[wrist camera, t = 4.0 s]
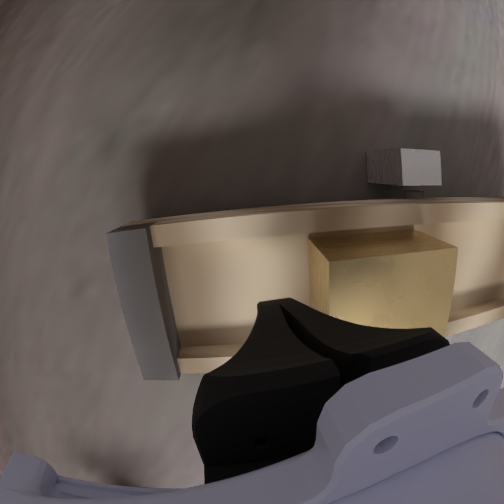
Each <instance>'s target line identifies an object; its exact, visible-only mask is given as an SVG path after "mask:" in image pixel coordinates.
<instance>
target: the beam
mask: <svg viewBox="0 0 504 504" xmlns="http://www.w3.org/2000/svg"><path fill="white" fill-rule="evenodd" d="M410 229H415V230H418V231H420V232H423V233H425V234H428V235H430V236H433V237H435V238H437V239H440V240H442V241H445V242H447V243H449V244H452V245H454V246H456V247H458V256H457V266H456V275H455V283H454V290H453V296H452V302H451V308H450V314H449V319H448V324H447V329H446V334H445V337H446V336H450V335H453V334H457V333H460V332H463V331H466V330H470V329H473V328H476V327H479V326H482V325H485V324H488V323H491V322H494V321H497V320H499V319H502V318H504V197H438V198H423V191H413V190H407V191H404V198H400V199H375V200H355V201H337V202H321V203H306V204H293V205H280V206H268V207H257V208H246V209H235V210H225V211H215V212H206V213H197V214H188V215H179V216H171V217H163V218H155V219H147V220H140V221H132V222H130V223H128V224H125V225H123V226H121V227H119V228H117V229H115V230H112V231H110V232H108V233H106V236H107V241H108V247H109V252H110V257H111V262H112V267H113V272H114V276H115V281H116V285H117V289H118V293H119V297H120V301H121V305H122V309H123V313H124V317H125V320H126V324H127V328H128V331H129V334H130V338H131V341H132V345H133V348H134V351H135V354H136V357H137V360H138V363H139V366H140V369H141V372H142V375H143V378H144V380H179V378H180V374H181V373H209V372H211V371H212V370H214V369H216V368H218V367H219V366H221V365H223V364H224V363H225V362H227V361H228V360H229V359H231V358H232V357H233V356H234V355H235V354H236V353H237V352H238V351H239V349H240V348H241V347H242V346H243V344H244V343H245V341H246V340H247V338H248V336H249V335H250V333H251V330H252V328H253V326H254V323H255V320H256V317H257V304H258V303H259V302H261V301H268V300H275V299H282V298H289V297H290V298H293V299H295V300H297V301H299V302H301V303H303V304H305V305H307V306H309V307H310V283H309V255H308V238H314V237H325V236H337V235H349V234H361V233H373V232H385V231H398V230H410Z"/></svg>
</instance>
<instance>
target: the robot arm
mask: <svg viewBox="0 0 504 504" xmlns="http://www.w3.org/2000/svg"><path fill="white" fill-rule="evenodd" d="M502 379H503V372H502V370H501V368H500V366H499V365H498V364H497V363H496V362H494V361H493V360H492V359H491V358H489V357H488V356H487V355H485V354H484V353H483V352H481V351H480V350H479V349H478V348H476V347H475V346H474V345H472V344H471V343H470V342H459V343H454V344H451V345H450V344H449V342H448V340H447V339H445V338H444V337H443V336H442V335H440V334H439V333H438V332H437V331H435V330H434V329H433V328H432V327H426V328H411V329H394V328H379V327H372V326H365V325H360V324H355V323H351V322H348V321H344V320H341V319H338V318H335V317H332V316H329V315H327V314H324V313H322V312H320V311H318V310H315V309H313V308H311V307H309V306H307V305H305V304H303V303H301V302H299V301H297V300H295V299H293V298H290V297H289V298H282V299H275V300H268V301H261V302H259V303H258V304H257V317H256V320H255V323H254V326H253V328H252V330H251V333H250V335H249V336H248V338H247V340H246V341H245V343H244V344H243V346H242V347H241V348H240V349H239V351H238V352H237V353H236V354H235V355H234V356H233V357H232V358H231V359H229V360H228V361H227V362H225V363H224V364H223V365H221V366H219V367H218V368H216V369H214V370H212V371H211V372H209V373H207V374H205V375H204V376H203V378H202V380H201V383H200V385H199V388H198V391H197V395H196V398H195V403H194V407H193V415H192V431H193V437H194V440H195V443H196V445H197V448H198V451H199V453H200V456H201V459H202V461H203V464H204V475H205V484H204V485H199V486H195V487H190V488H185V489H167V488H143V487H129V486H119V485H110V484H103V483H96V482H90V481H84V480H78V479H73V478H68V477H64V476H59V475H58V474H57V473H56V471H55V470H54V469H53V467H52V466H51V465H50V464H49V463H48V462H46V461H45V460H43V459H42V458H39V457H36V456H32V455H28V454H25V453H21V452H18V451H14V452H13V454H12V456H11V458H10V460H9V461H8V463H7V465H6V467H5V469H4V471H3V473H2V476H1V478H0V504H504V388H502V389H500V387H501V383H502Z"/></svg>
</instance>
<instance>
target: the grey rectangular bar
mask: <svg viewBox="0 0 504 504" xmlns="http://www.w3.org/2000/svg"><path fill="white" fill-rule="evenodd" d="M366 158H367V173H368V183H379V184H390V185H400V186H420V185H442V177H441V158H440V151H434V150H421V149H405V148H398V149H388V150H378V151H369V152H366Z"/></svg>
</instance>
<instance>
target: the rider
mask: <svg viewBox="0 0 504 504" xmlns="http://www.w3.org/2000/svg"><path fill="white" fill-rule="evenodd" d="M308 255H309V283H310V307H311V308H313V309H315V310H318V311H320V312H322V313H324V314H327V315H329V316H332V317H335V318H338V319H341V320H344V321H348V322H351V323H355V324H360V325H365V326H372V327H379V328H394V329H411V328H426V327H432V328H433V329H434V330H435V331H437V332H438V333H439V334H440V335H442V336H443V337H444V338H445V334H446V329H447V324H448V319H449V314H450V308H451V302H452V296H453V290H454V283H455V275H456V266H457V256H458V247H456V246H454V245H452V244H449V243H447V242H445V241H442V240H440V239H437V238H435V237H433V236H430V235H428V234H425V233H423V232H420V231H418V230H415V229H410V230H398V231H385V232H373V233H361V234H349V235H337V236H325V237H314V238H308Z"/></svg>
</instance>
